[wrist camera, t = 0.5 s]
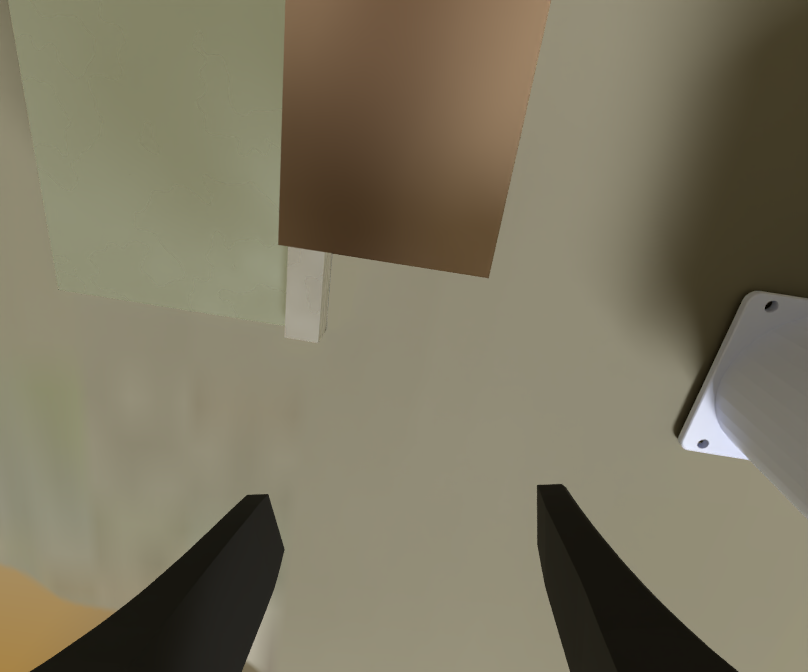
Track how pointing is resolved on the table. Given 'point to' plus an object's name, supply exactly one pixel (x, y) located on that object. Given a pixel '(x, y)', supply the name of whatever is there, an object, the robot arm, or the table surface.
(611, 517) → the table surface
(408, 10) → the wooden block
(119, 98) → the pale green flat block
